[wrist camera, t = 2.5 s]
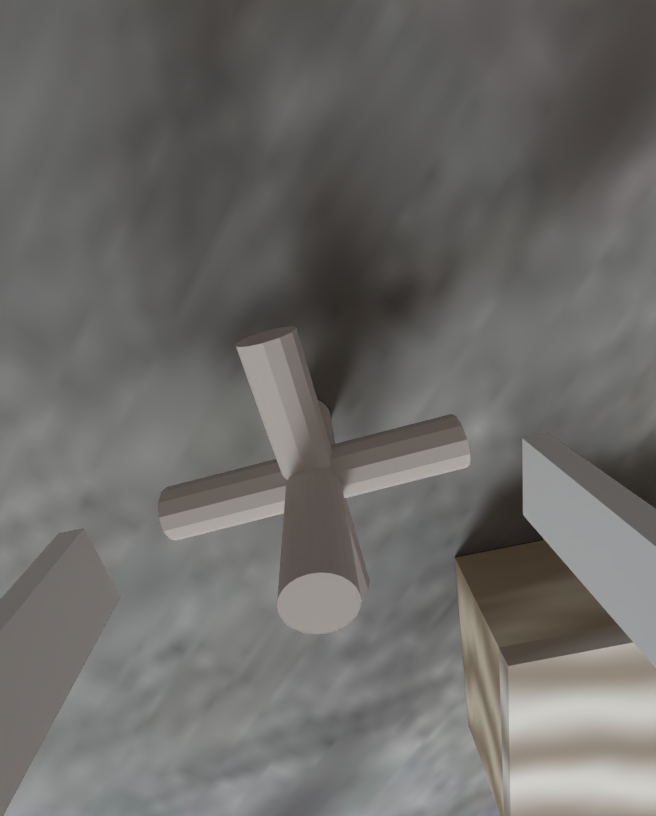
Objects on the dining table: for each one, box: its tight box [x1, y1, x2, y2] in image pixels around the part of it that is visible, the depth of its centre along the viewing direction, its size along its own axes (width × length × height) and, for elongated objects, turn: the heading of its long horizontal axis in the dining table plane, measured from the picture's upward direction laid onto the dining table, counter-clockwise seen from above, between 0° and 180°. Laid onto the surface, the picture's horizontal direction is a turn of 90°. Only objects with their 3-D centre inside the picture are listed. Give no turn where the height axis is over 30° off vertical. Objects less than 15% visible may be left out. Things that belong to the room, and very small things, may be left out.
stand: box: [455, 540, 656, 816], centre depth 21 cm, size 16×16×6 cm
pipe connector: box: [158, 326, 470, 634], centre depth 13 cm, size 10×10×10 cm
